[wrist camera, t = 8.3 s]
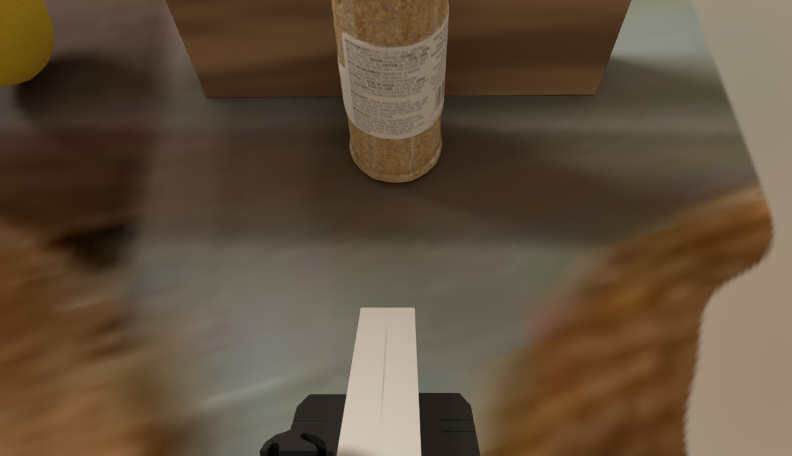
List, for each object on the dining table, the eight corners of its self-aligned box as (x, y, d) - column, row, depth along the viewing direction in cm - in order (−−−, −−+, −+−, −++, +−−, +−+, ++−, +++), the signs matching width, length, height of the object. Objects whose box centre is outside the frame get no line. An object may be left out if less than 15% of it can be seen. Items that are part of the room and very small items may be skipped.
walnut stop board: (595, 94, 31) (639, -23, 25) (206, 97, 32) (158, -17, 26) (587, 52, 33) (626, -68, 27) (215, 55, 33) (172, -62, 27)
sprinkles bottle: (371, 103, 31) (345, -181, 20) (455, 128, 31) (480, -157, 19) (334, 171, 29) (281, -104, 18) (423, 200, 28) (429, -72, 17)
